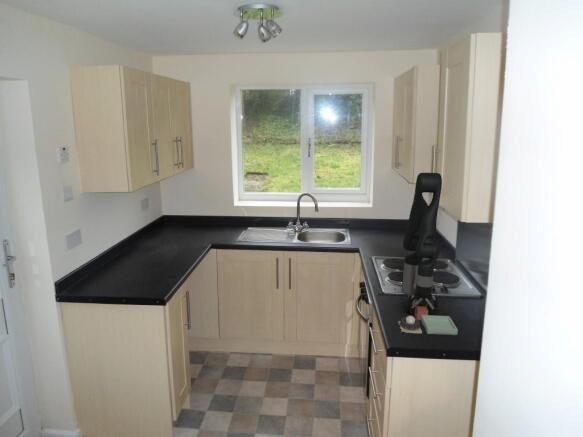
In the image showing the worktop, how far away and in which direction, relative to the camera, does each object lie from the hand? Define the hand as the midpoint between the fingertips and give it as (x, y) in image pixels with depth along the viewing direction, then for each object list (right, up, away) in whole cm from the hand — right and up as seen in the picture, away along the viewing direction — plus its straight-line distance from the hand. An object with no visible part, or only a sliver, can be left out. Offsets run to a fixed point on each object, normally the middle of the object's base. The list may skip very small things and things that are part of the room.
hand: (421, 314), depth 215 cm
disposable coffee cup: (+4, +2, +13) cm, 14 cm away
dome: (-8, -2, -10) cm, 13 cm away
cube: (0, -2, +1) cm, 2 cm away
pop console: (-8, -4, -10) cm, 13 cm away
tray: (+6, -4, -8) cm, 11 cm away
